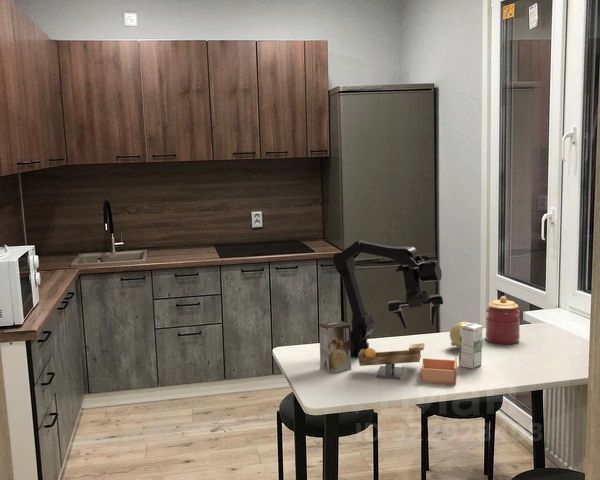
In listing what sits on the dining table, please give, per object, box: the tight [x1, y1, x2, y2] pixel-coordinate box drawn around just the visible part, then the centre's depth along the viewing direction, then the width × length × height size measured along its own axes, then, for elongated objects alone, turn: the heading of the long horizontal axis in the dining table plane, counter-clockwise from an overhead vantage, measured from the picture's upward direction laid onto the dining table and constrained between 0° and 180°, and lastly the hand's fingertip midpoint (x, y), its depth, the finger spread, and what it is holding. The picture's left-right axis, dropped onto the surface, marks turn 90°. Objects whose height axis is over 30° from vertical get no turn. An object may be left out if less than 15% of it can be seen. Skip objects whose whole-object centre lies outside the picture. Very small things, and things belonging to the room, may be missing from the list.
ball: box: [364, 347, 376, 358], centre depth 217 cm, size 4×4×4 cm
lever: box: [357, 342, 425, 367], centre depth 221 cm, size 20×16×4 cm
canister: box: [485, 295, 521, 345], centre depth 253 cm, size 13×13×18 cm
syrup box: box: [458, 322, 484, 370], centre depth 223 cm, size 6×6×14 cm
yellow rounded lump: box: [449, 321, 470, 348], centre depth 243 cm, size 10×12×11 cm
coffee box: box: [318, 320, 352, 375], centre depth 221 cm, size 9×6×16 cm
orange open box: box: [419, 357, 458, 386], centre depth 212 cm, size 11×11×6 cm
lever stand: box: [375, 363, 405, 381], centre depth 216 cm, size 8×10×5 cm
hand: (418, 327), depth 224 cm, fingers open, 9 cm apart
